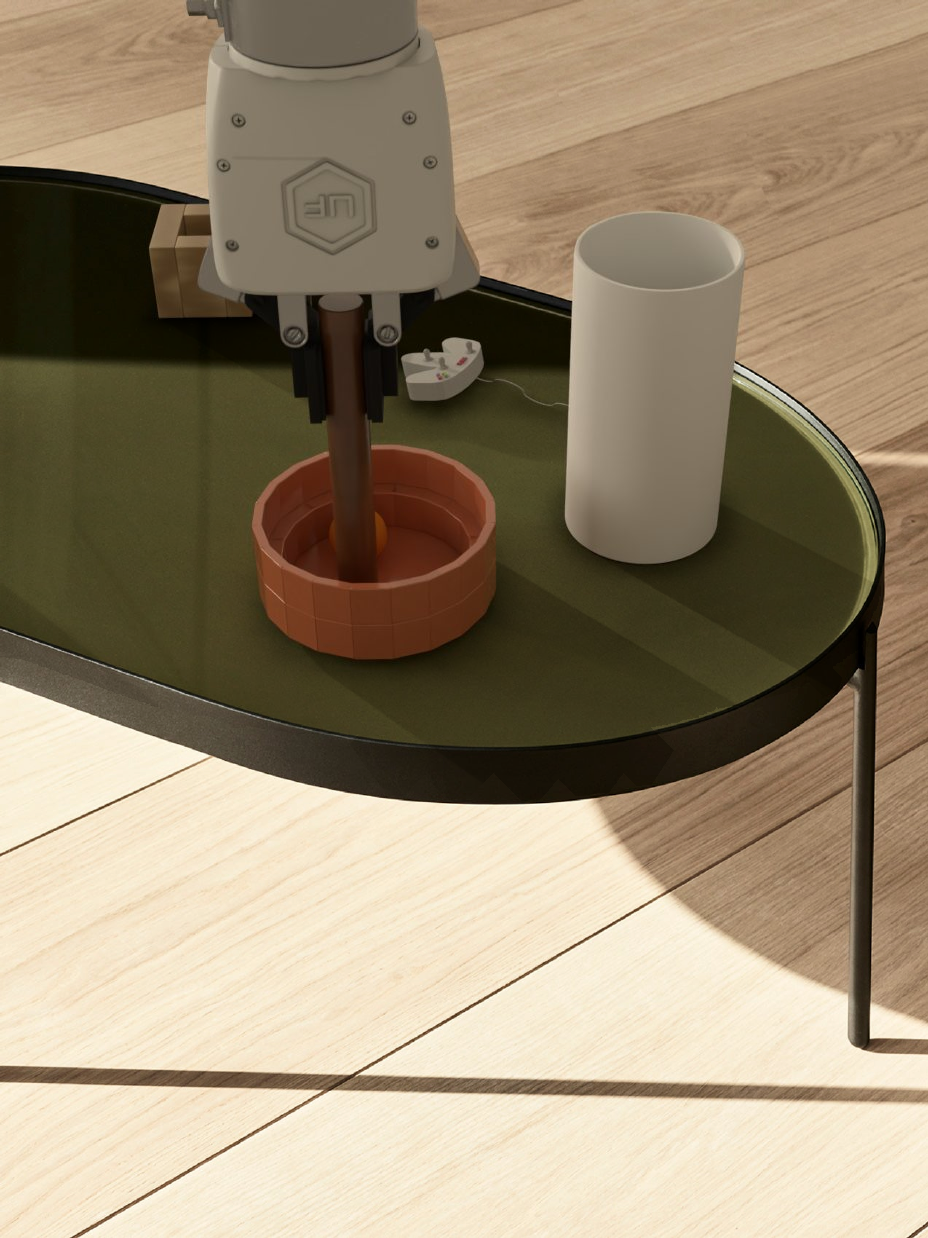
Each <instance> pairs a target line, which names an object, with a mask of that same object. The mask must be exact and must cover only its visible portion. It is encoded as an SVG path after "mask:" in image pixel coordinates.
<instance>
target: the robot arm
mask: <svg viewBox="0 0 928 1238" xmlns="http://www.w3.org/2000/svg"><path fill="white" fill-rule="evenodd" d="M185 5H186V11H187V15H188V16H189V17H206V18H207V20H216V22H217V26H218V28H223V33H222V34H221V35H220V36H219V37H218V38H217V39H216V41H215V42H214V45H213V47H212V48H211V50H210V52H209V57H208V63H207V64H208V65H207V75H206V76H207V77H206V93H205V147H206V148H205V149H206V173H207V187H208V202H209V203H208V204H209V205H210V220H211V231H212V234H211V237H210V240H209V243H208V246H207V249H206V252H205V255H204V258H203V261H202V264H201V267H200V271H199V276H198V282H197V283H198V286H199V287H200V288H201V290H203V291H205V292H207V293H210V294H213V295H216V296H219V297H222V298H225V299H227V300H230V301H233V302H236V303H238V302H241V303H244V304H246V306H247V307H248V308H249V309H250V310H251V311H253V314H255V315H256V316H258V317H259V318H260V319H262V320H263V321H264V322H266V324H268V325H269V326H270V327H271V328H273V329H274V330H275V331H277V333H279V334H280V339H281V342H282V343H283V344H284V345H285V346H287V347H289V353H290V362H291V363H290V364H291V374H292V375H291V377H292V385H293V387H292V388H293V396H294V398H295V399H297V398H298V399H306V398H307V402H308V414H309V415H308V416H309V423H310V424H311V425H315V424H317V425H318V424H319V425H320V424H322V423H323V421H324V422H325V421H326V416H327V411H326V398H325V384H324V370H323V356H322V342H321V339H320V326H319V313H318V310H316V309H314V307H312V306H313V303H312V302H313V301H312V296H325V295H349V294H357V295H371V308H370V310H368V317H367V318H366V319H364V322H365V339H364V348H363V353H364V371H365V388H366V405H367V420H370V421H371V423H372V424H383V423H384V413H385V397H399V390H400V389H399V388H400V387H399V383H400V382H399V381H400V380H399V360H398V359H399V357H398V343H399V342H400V341H401V339H402V334H403V333H404V332H405V331H406V330H407V329H408V328H409V327H410V326H411V325H412V324H414V322H415V321H416V320H417V319H419V318H420V317H421V316H422V315H423V314H424V313H425V312H427V310H428V309H429V308H431V307H432V305H433V304H434V303H435V302H437V301H440V300H442V301H443V300H446V299H449V298H451V297H454V296H456V295H458V294H462V293H464V292H466V291H469V290H472V289H474V288H476V287H477V286H478V285H479V284H480V280H481V268H480V267H481V265H480V261H479V259H478V257H477V255H476V253H475V251H474V249H473V247H472V245H471V244H472V243H470V240H469V238H468V236H467V234H466V232H465V230H464V227H463V226H462V223H461V222H460V220H459V217H458V215H457V213H456V211H457V210H456V195H455V193H456V191H455V176H454V157H453V146H452V133H451V123H450V115H449V114H450V113H449V107H448V106H449V105H448V99H447V93H446V87H445V80H444V75H443V71H442V67H441V61H440V57H439V54H438V50H437V47H436V46H437V45H436V43H435V39H434V36H433V34H432V33H431V32H430V31H429V29H427V28H426V27H424V26H423V25H421V24H419V15H418V12H419V11H418V0H185Z"/></svg>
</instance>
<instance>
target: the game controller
mask: <svg viewBox="0 0 928 1238" xmlns="http://www.w3.org/2000/svg"><path fill="white" fill-rule="evenodd" d="M441 347H442V351H443V352H441V351H440V352H439V351H438V352H431V350H430V349H428V348H425V349H424V350H423V352H411V353H407V354H404V355H402V357H401V358H400V360H401V364H402V369H403V374H404V377H405V383H406V388H407V392H408V396H409V399H410V400H412V401H434V402H435V401H442V400H443V401H444V400H449V399H450V398H453V397H454V396H456V395H458V394H460V393H462V392H463V391H464V390H465V389H467V388H468V387H469V386H470V385H471V384H472V383H473V382H474V381H475V380H479V381H482V382H486V383H493V381H496V380H497V381H502V382H506V383H509V384H511V385H513V386H515V387H517V388H519V389H520V390H521V392H522V393H523V395H524V396H525V398H527V399H529V400H530V401H533V402H535V403H537V404H540V405H543V406H547V407H552V406H554V405H563V406H567V407H569V404H566V403H562V402H555V403H554V404H547V403H543V402H540V401H538V400H535V399H533V398H531V397H530V396H528V395H527V394H526V393H525V390H524V389H523V388H522V387H521V386H519V385H518V384H516V383H514V382H512V381H509V380H507V379H503V378H495V379H494V380H486V379H483V378H479V377H478V376H480V374H481V373H482V370H483V368H484V364H485V361H484V355H483V349H482V345H481V343H480V342H479V341H476V340H473V339H467V338H461V337H449V338H446V339H444V340H443V341H442V342H441Z"/></svg>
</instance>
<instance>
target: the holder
mask: <svg viewBox="0 0 928 1238" xmlns="http://www.w3.org/2000/svg"><path fill="white" fill-rule="evenodd" d="M159 208H160V209H159V212H158V215H157V219H156V223H155V227H154V229H153V233H152V237H151V240H150V243H149V247H148V250H149V257H150V264H151V272H152V279H153V285H154V286H153V287H154V293H155V299H156V306H157V312H158V313H157V314H158V318H159V319H183V318H186V319H187V318H227V317H228V318H252V317H253V314H254V312H253V311H251V310H250V309H249V308H248V307H247V306H246V304H244V303H241V302H238V303H236V302H233V301H230V300H227V299H225V298H222V297H219V296H216V295H213V294H210V293H207V292H205V291H203V290H201V288H200V287H199V286H198V283H197V282H198V276H199V271H200V267H201V264H202V261H203V258H204V255H205V252H206V249H207V246H208V243H209V240H210V237H211V234H212V231H211V220H210V205H209V203H187V204H186V203H178V204H177V203H169V204H168V203H167V204H165V203H163V204H161V205H160V207H159Z"/></svg>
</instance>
